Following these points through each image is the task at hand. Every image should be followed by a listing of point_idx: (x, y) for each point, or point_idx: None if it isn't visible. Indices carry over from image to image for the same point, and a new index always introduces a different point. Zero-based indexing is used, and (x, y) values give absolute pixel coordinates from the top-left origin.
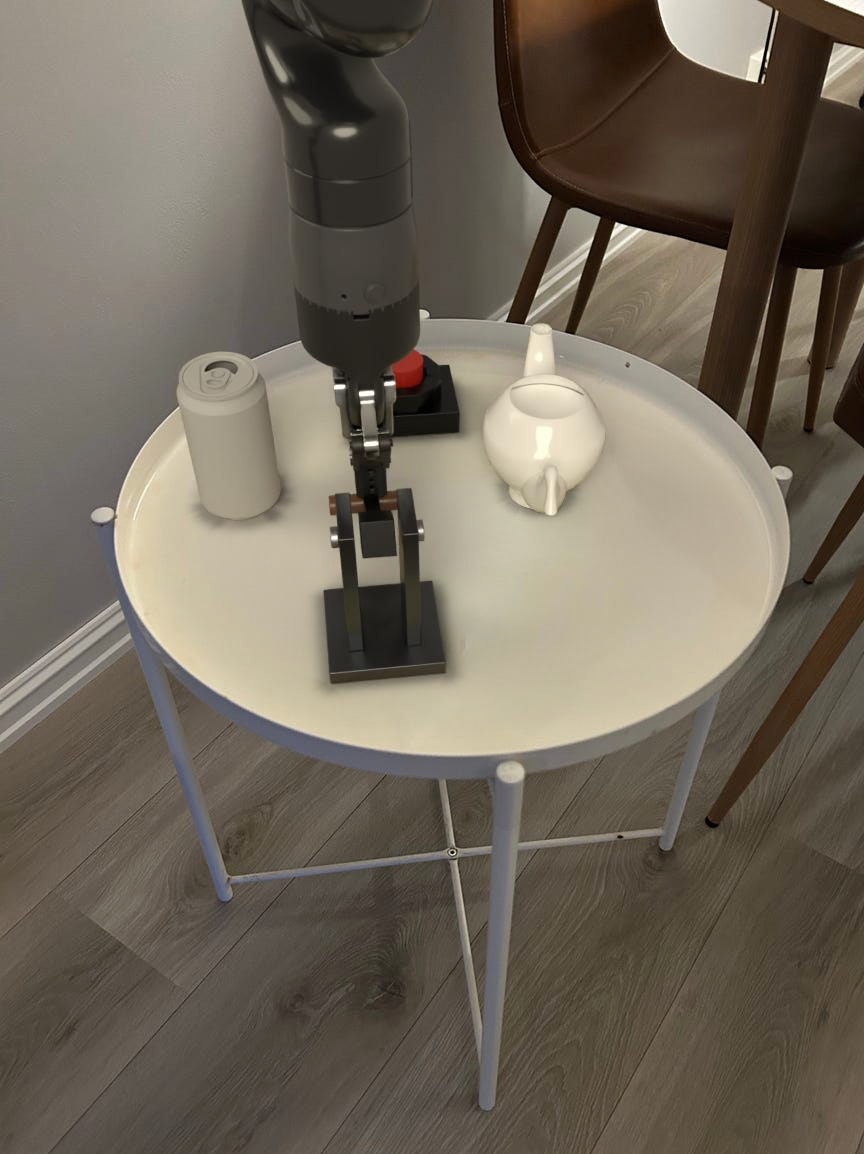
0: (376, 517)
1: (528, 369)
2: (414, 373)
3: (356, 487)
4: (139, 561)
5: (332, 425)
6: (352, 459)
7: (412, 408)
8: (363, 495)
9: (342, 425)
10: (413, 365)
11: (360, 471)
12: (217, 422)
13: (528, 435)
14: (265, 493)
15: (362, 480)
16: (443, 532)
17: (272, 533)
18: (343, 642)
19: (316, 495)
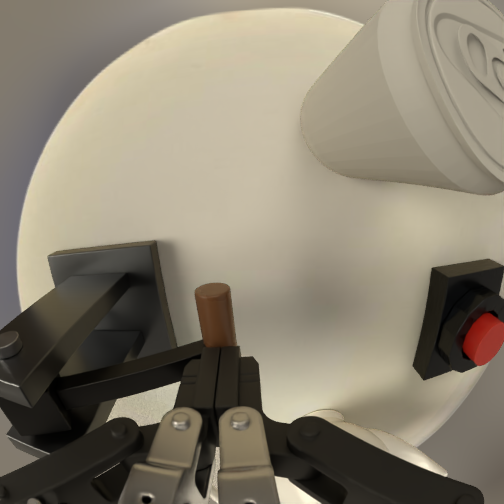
0: (24, 418)
1: (416, 459)
2: (472, 358)
3: (201, 359)
4: (235, 18)
5: (455, 241)
6: (96, 444)
7: (441, 343)
8: (187, 365)
9: (123, 493)
10: (480, 358)
11: (176, 402)
12: (367, 54)
13: (294, 500)
14: (326, 158)
15: (180, 388)
16: (269, 363)
17: (281, 165)
18: (79, 269)
19: (351, 222)
